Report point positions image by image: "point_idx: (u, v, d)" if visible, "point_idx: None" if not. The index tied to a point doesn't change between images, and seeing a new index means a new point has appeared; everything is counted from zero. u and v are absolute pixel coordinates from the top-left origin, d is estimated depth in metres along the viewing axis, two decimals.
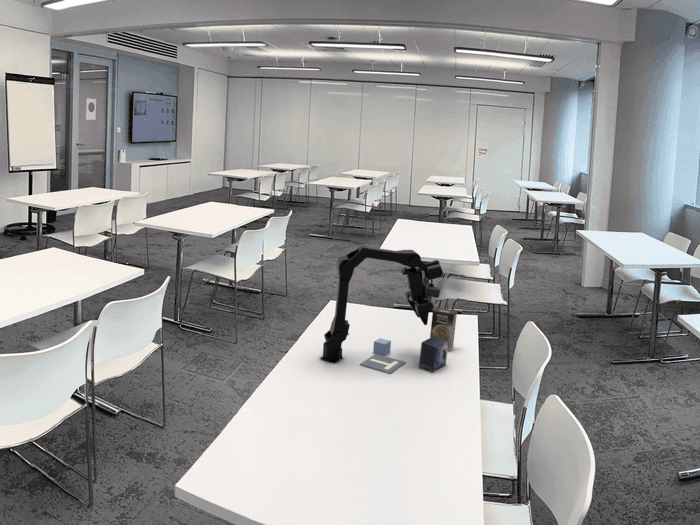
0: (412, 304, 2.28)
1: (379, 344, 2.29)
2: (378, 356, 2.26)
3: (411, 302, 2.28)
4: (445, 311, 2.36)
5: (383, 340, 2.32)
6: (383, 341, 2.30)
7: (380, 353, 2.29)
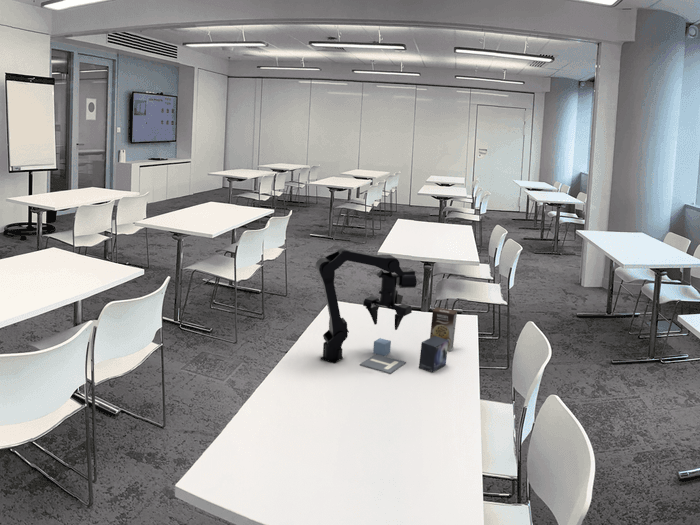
0: (373, 311, 2.26)
1: (379, 344, 2.29)
2: (378, 356, 2.26)
3: (373, 309, 2.25)
4: (445, 311, 2.36)
5: (383, 340, 2.32)
6: (383, 341, 2.30)
7: (380, 353, 2.29)
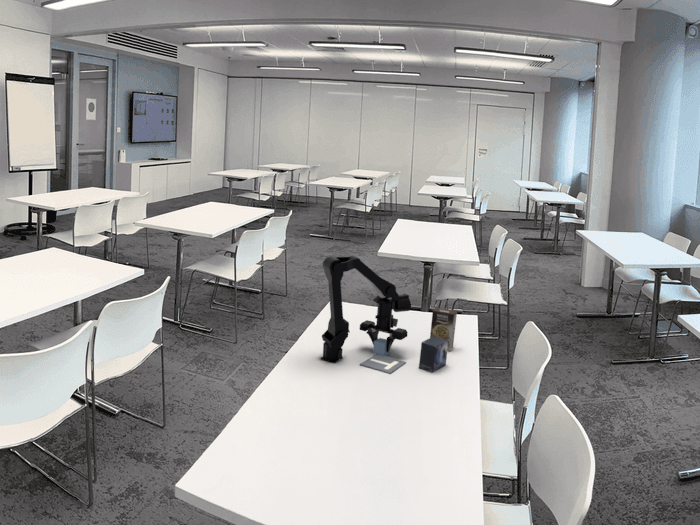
0: (374, 336, 2.30)
1: (379, 344, 2.29)
2: (378, 356, 2.26)
3: (373, 334, 2.30)
4: (445, 311, 2.36)
5: (383, 340, 2.32)
6: (383, 341, 2.30)
7: (380, 353, 2.29)
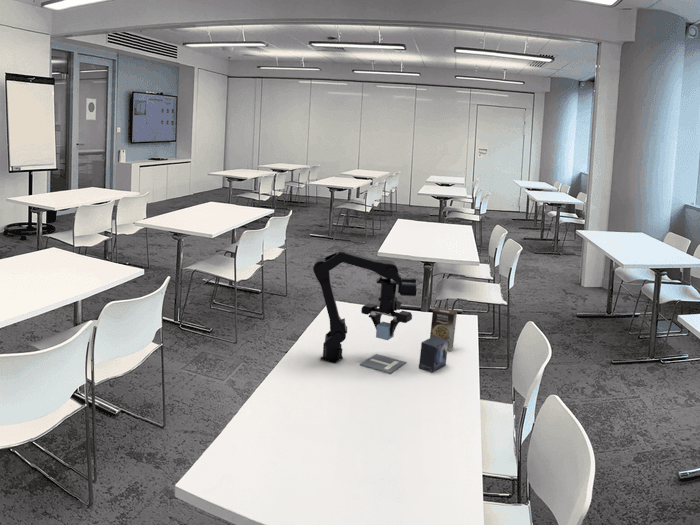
0: (376, 319, 2.19)
1: (382, 327, 2.18)
2: (378, 356, 2.26)
3: (376, 317, 2.19)
4: (445, 311, 2.36)
5: (386, 323, 2.21)
6: (386, 325, 2.19)
7: (383, 337, 2.18)
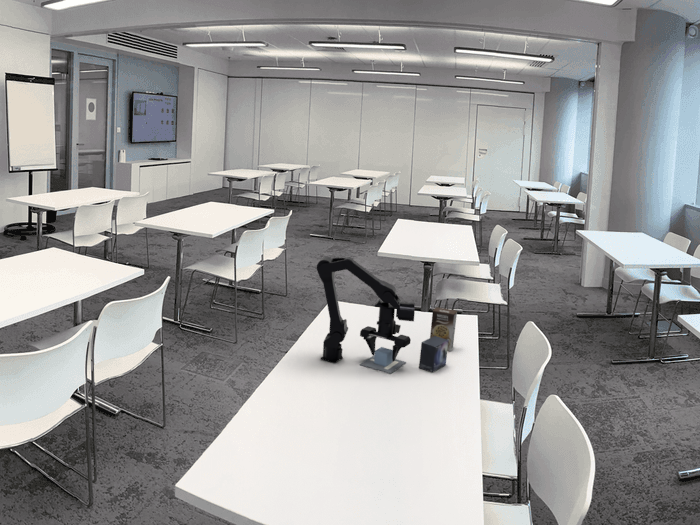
0: (371, 342, 2.20)
1: (380, 353, 2.17)
2: None
3: (370, 340, 2.19)
4: (445, 311, 2.36)
5: (385, 349, 2.20)
6: (384, 350, 2.19)
7: (381, 363, 2.18)
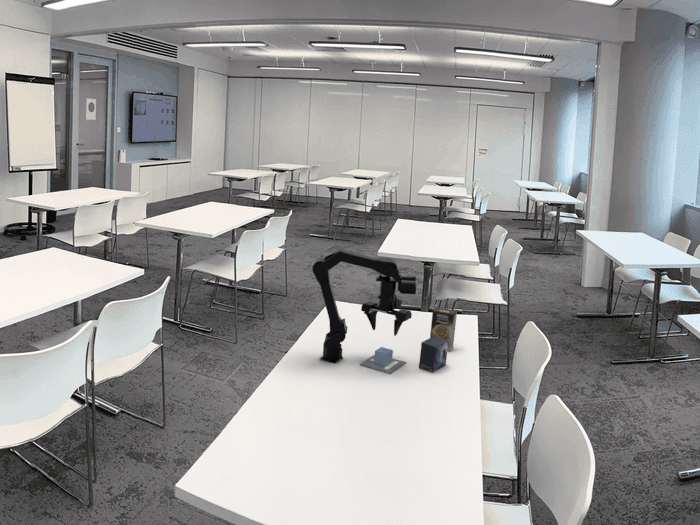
0: (372, 316, 2.19)
1: (380, 353, 2.17)
2: None
3: (371, 314, 2.19)
4: (445, 311, 2.36)
5: (385, 349, 2.20)
6: (384, 350, 2.19)
7: (381, 363, 2.18)
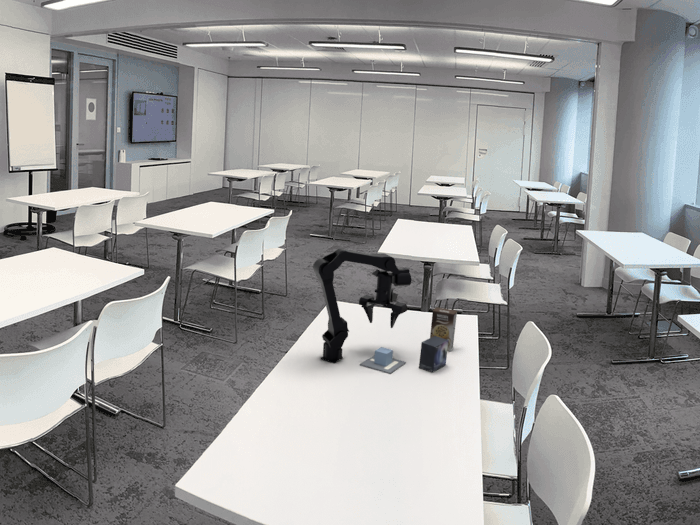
0: (369, 309, 2.27)
1: (380, 353, 2.17)
2: None
3: (368, 307, 2.27)
4: (445, 311, 2.36)
5: (385, 349, 2.20)
6: (384, 350, 2.19)
7: (381, 363, 2.18)
